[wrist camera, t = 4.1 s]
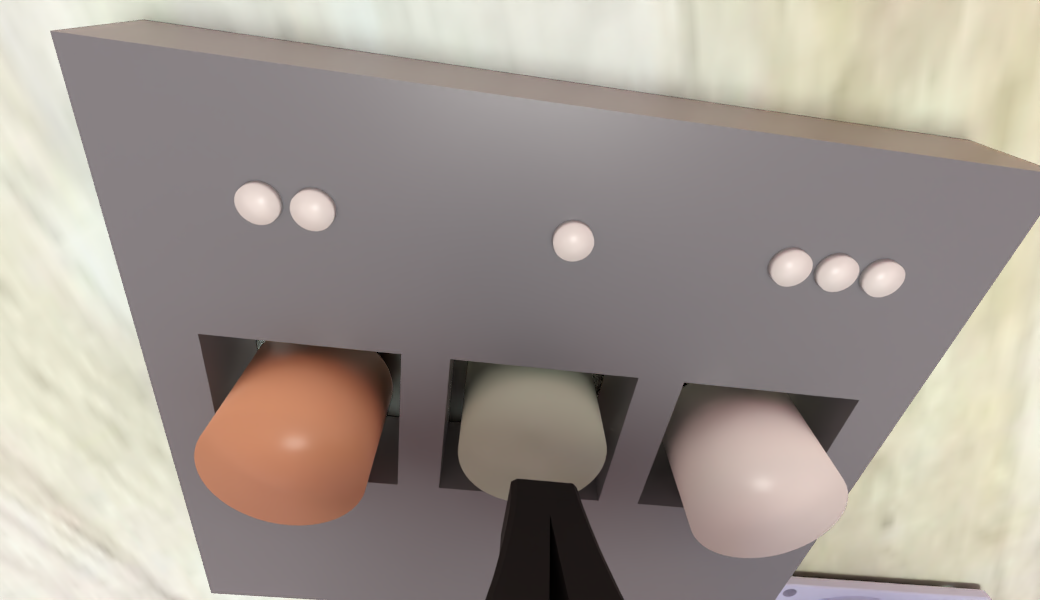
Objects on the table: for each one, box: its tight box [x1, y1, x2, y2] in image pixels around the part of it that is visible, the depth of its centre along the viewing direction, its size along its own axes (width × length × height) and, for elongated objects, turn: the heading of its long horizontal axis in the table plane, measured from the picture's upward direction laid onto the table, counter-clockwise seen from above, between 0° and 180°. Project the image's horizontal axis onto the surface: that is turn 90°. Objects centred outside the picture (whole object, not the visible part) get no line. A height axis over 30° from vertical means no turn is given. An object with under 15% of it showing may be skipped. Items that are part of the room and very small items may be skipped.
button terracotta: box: [194, 341, 393, 526], centre depth 13 cm, size 4×4×3 cm
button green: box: [458, 361, 607, 500], centre depth 14 cm, size 4×4×3 cm
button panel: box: [50, 20, 1040, 600], centre depth 14 cm, size 18×16×3 cm
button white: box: [662, 383, 848, 558], centre depth 14 cm, size 4×4×3 cm
